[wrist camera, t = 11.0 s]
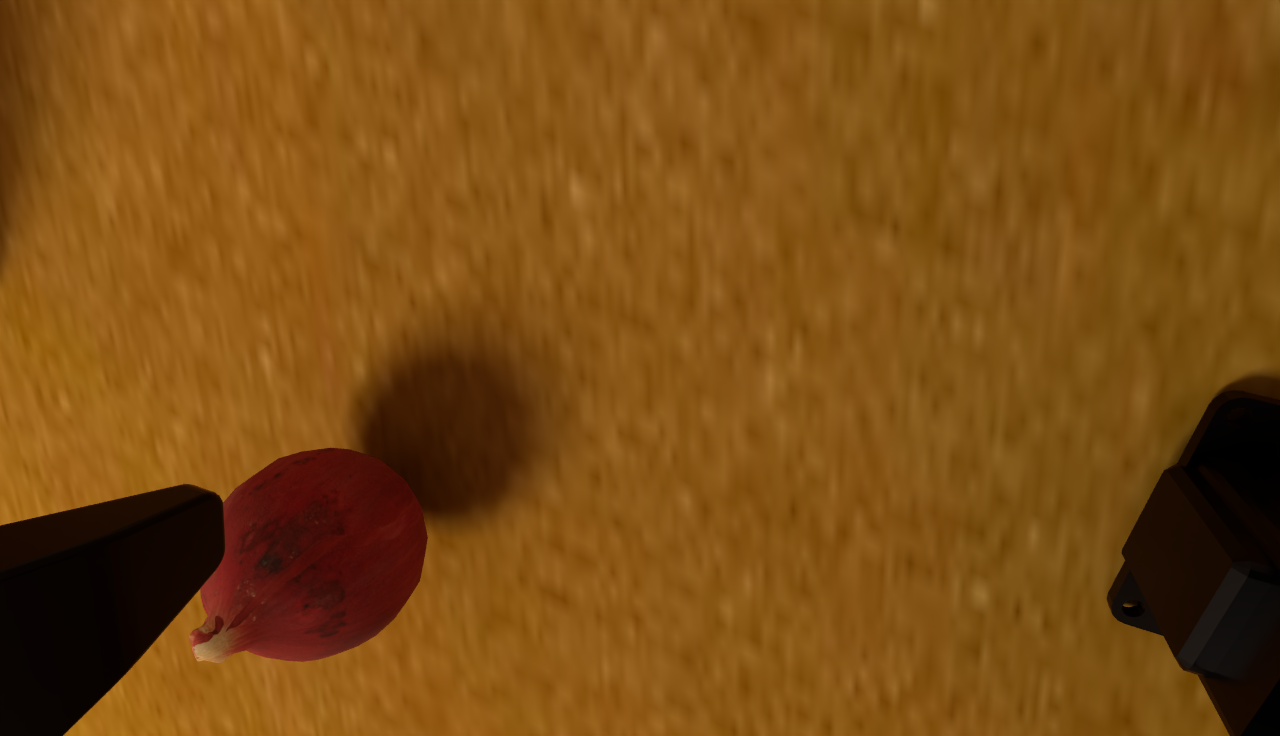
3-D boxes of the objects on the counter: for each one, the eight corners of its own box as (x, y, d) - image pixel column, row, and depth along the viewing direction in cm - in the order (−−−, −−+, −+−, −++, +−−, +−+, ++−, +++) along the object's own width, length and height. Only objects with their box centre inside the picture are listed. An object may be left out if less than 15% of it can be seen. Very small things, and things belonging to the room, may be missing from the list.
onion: (359, 373, 24) (143, 499, 17) (502, 485, 24) (345, 658, 17) (294, 489, 27) (83, 642, 20) (424, 591, 27) (259, 781, 20)
